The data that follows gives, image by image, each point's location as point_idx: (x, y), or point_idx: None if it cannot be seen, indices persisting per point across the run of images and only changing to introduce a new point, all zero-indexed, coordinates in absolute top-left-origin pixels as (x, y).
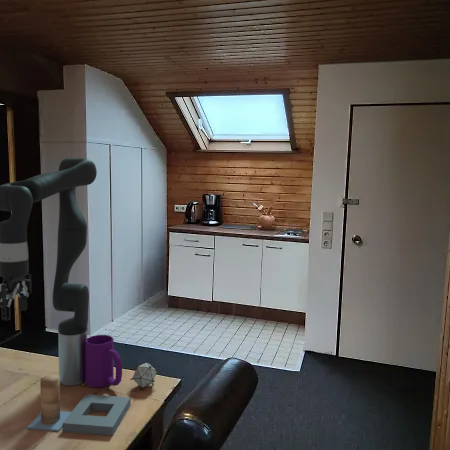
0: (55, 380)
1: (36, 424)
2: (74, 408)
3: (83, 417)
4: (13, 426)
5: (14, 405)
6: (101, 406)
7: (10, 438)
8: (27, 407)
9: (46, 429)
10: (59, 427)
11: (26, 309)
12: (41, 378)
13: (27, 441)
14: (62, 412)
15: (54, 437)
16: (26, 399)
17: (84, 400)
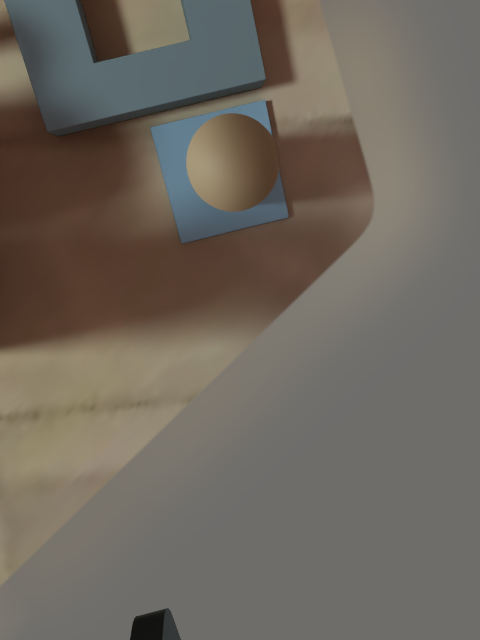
0: (235, 124)
1: (265, 199)
2: (162, 103)
3: (203, 21)
4: (290, 270)
5: (189, 362)
6: (83, 19)
7: (346, 228)
8: (182, 314)
9: None
10: (253, 107)
11: (156, 616)
12: (244, 209)
13: (344, 164)
14: (168, 166)
15: (298, 92)
16: (141, 356)
17: (93, 104)
